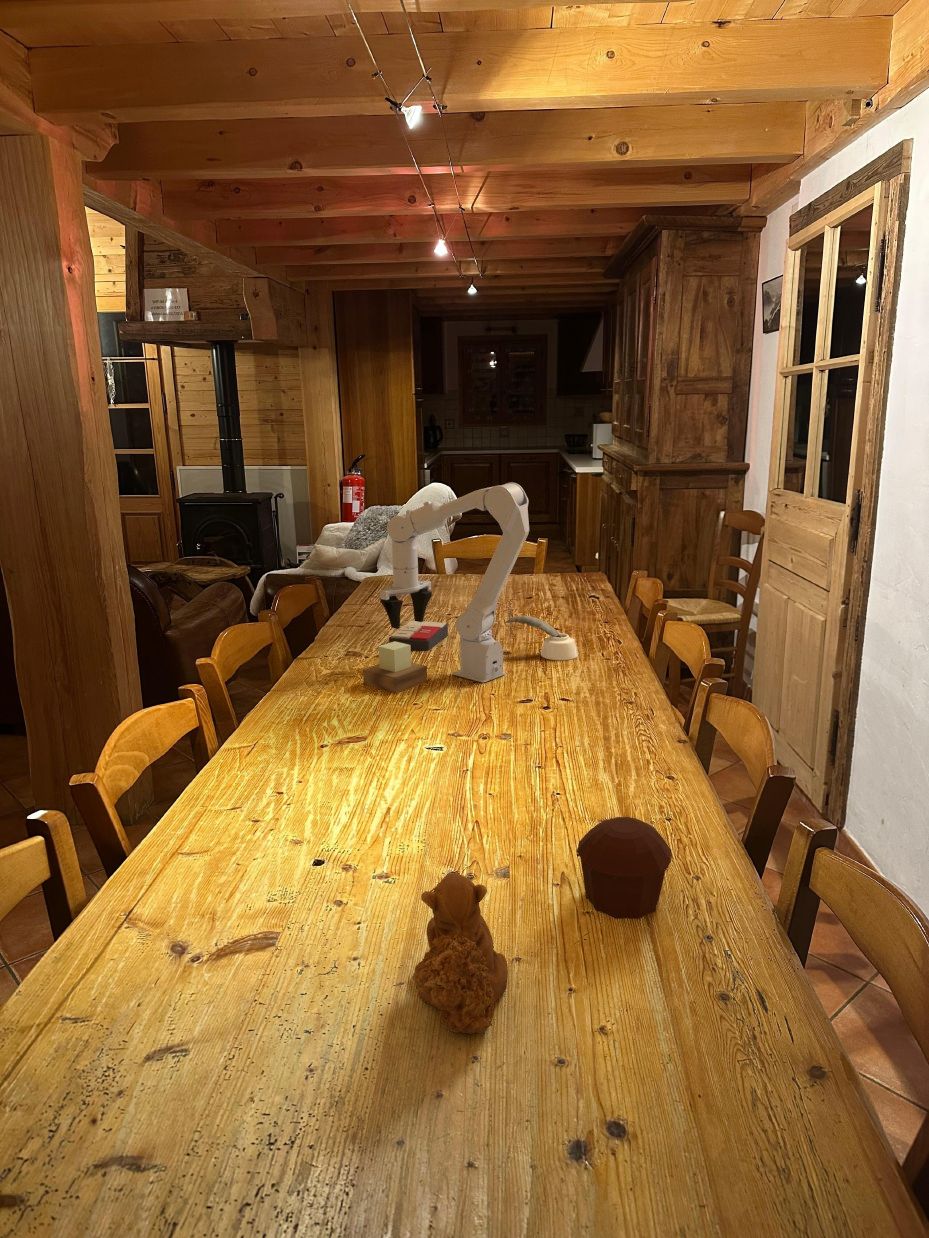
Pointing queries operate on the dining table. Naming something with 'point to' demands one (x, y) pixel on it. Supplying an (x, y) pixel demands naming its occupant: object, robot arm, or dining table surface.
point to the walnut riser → (395, 678)
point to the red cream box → (421, 634)
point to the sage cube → (394, 656)
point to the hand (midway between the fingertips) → (407, 624)
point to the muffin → (623, 867)
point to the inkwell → (551, 640)
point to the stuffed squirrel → (460, 957)
